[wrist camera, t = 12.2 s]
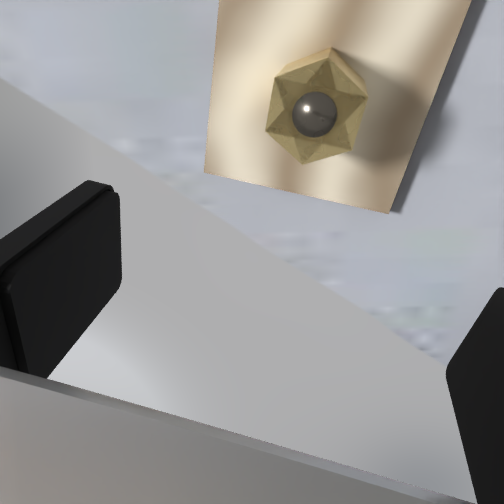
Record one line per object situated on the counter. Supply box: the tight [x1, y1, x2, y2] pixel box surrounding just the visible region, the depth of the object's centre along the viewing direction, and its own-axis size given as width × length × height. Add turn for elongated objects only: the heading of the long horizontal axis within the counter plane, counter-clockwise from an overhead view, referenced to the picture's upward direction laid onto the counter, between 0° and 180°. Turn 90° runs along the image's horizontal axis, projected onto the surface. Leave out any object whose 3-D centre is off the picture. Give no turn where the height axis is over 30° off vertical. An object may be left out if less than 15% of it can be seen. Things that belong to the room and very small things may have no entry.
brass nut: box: [265, 47, 368, 165], centre depth 24 cm, size 5×6×5 cm
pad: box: [204, 0, 472, 214], centre depth 26 cm, size 14×14×1 cm
